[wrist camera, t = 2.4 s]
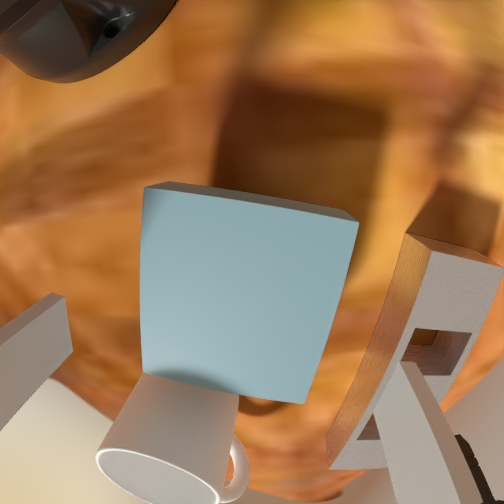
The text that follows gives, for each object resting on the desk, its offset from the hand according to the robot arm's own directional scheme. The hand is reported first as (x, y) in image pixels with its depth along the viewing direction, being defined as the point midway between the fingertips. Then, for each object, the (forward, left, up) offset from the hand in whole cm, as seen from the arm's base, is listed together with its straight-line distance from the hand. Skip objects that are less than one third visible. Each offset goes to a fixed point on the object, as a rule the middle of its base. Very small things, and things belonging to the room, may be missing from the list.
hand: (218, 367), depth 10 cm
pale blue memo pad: (0, 0, -10) cm, 10 cm away
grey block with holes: (+6, +13, -10) cm, 17 cm away
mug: (+13, -2, -10) cm, 16 cm away
